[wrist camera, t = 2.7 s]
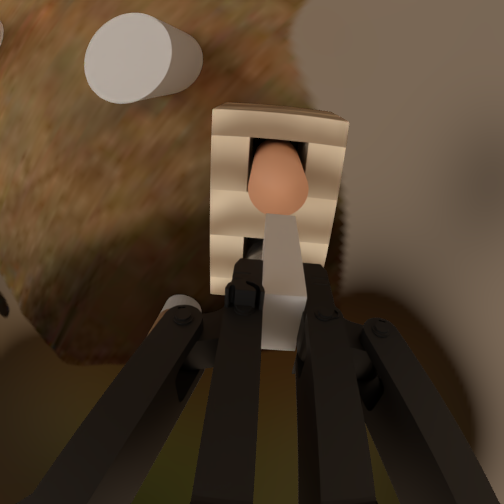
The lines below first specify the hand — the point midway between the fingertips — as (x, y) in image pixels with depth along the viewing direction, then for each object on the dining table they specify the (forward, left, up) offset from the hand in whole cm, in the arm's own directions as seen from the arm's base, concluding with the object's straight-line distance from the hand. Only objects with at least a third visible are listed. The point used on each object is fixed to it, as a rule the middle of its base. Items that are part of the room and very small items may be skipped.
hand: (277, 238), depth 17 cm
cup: (-10, -13, -22) cm, 28 cm away
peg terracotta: (0, 0, -16) cm, 16 cm away
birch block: (+5, 0, -22) cm, 23 cm away
